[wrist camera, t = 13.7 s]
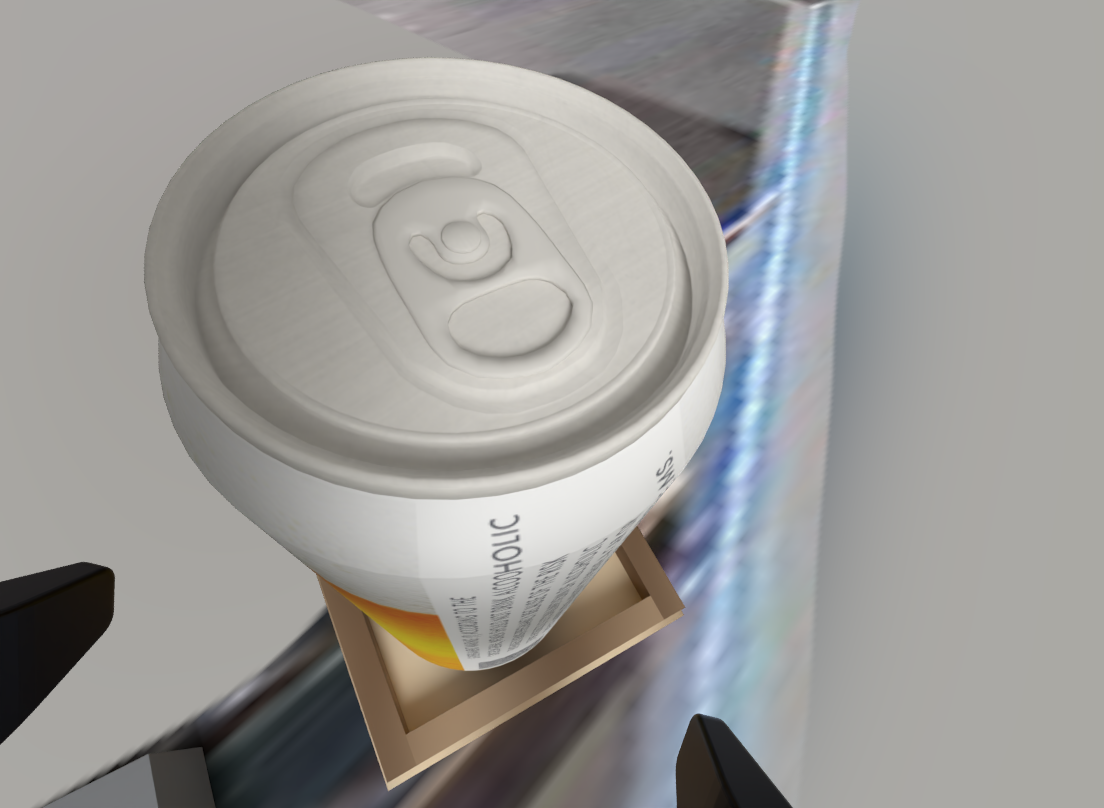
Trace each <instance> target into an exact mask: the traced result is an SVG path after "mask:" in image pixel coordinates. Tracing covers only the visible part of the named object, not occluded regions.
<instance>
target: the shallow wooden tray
mask: <svg viewBox="0 0 1104 808" xmlns="http://www.w3.org/2000/svg"><path fill="white" fill-rule="evenodd" d="M316 575H317V574H316ZM317 578H318V581H319V584H320V587H321V590H322V593H323V596H324V599H325V602H326V605H327V608H328V611H329V614H330V617H331V620H332V623H333V626H334V629H335V632H336V635H337V638H338V641H339V644H340V647H341V650H342V653H343V656H344V659H345V662H346V665H347V668H348V671H349V674H350V677H351V680H352V683H353V686H354V689H355V692H356V695H357V698H358V701H359V704H360V707H361V710H362V713H363V716H364V719H365V722H366V725H367V728H368V731H369V734H370V737H371V740H372V743H373V746H374V749H375V752H376V755H377V758H378V761H379V764H380V767H381V770H382V773H383V776H384V779H385V782H386V785H387V788H388V791H389V790H391V789H392V788H394V787H396V786H397V785H399V784H401V783H402V782H404V781H406V780H407V779H409V778H411V777H412V776H414V775H416V774H417V773H419V772H421V771H422V770H424V769H426V768H428V767H429V766H431V765H433V764H434V763H436V762H438V761H439V760H441V759H443V758H444V757H446V756H448V755H449V754H451V753H453V752H454V751H456V750H458V749H460V748H461V747H463V746H465V745H466V744H468V743H470V742H471V741H473V740H475V739H476V738H478V737H480V736H481V735H483V734H485V733H486V732H488V731H490V730H491V729H493V728H495V727H497V726H498V725H500V724H502V723H503V722H505V721H507V720H508V719H510V718H512V717H513V716H515V715H517V714H518V713H520V712H522V711H523V710H525V709H527V708H528V707H530V706H532V705H534V704H535V703H537V702H539V701H540V700H542V699H544V698H545V697H547V696H549V695H550V694H552V693H554V692H555V691H557V690H559V689H560V688H562V687H564V686H566V685H567V684H569V683H571V682H572V681H574V680H576V679H577V678H579V677H581V676H582V675H584V674H586V673H587V672H589V671H591V670H592V669H594V668H596V667H597V666H599V665H601V664H603V663H604V662H606V661H608V660H609V659H611V658H613V657H614V656H616V655H618V654H619V653H621V652H623V651H624V650H626V649H628V648H629V647H631V646H633V645H634V644H636V643H638V642H640V641H641V640H643V639H645V638H646V637H648V636H650V635H651V634H653V633H655V632H656V631H658V630H660V629H661V628H663V627H665V626H666V625H668V624H670V623H671V622H673V621H675V620H677V619H678V618H680V617H682V616H683V615H684V614H683V613H682V611H681V610H682V609H683V608H685V606H684V605H683V603H682V601H681V599H680V598H679V596H678V594H677V593H676V591H675V589H674V588H673V586H672V584H671V583H670V581H669V579H668V577H667V576H666V574H665V572H664V571H663V569H662V567H661V566H660V564H659V562H658V561H657V559H656V557H655V555H654V554H653V552H652V550H651V549H650V547H649V545H648V544H647V542H646V540H645V539H644V537H643V535H642V533H641V532H640V530H639V528H638V527H637V526H636V527H635V528H634V530H633V531H632V532H631V533H630V534H629V536H628V537H627V538H626V539H625V540H624V542H623V543H622V544H621V545H620V546H619V548H618V549H617V550H616V551H615V552H614V554H613V555H612V556H611V557H610V558H609V560H608V561H607V562H606V563H605V565H604V566H603V567H602V568H601V569H600V571H599V572H598V573H597V574H596V575H595V577H594V578H593V579H592V580H591V581H590V583H589V584H588V585H587V586H586V587H585V589H584V590H583V591H582V592H581V593H580V595H579V596H578V597H577V598H576V599H575V601H574V602H573V603H572V604H571V605H570V607H569V608H568V609H567V610H566V611H565V613H564V614H563V615H562V616H561V617H560V619H559V620H558V621H557V622H556V624H555V625H554V626H553V627H552V628H551V630H550V631H549V632H548V633H547V634H546V635H545V637H544V638H543V639H542V640H541V641H540V642H539V643H538V644H537V645H535V646H534V647H533V648H532V649H531V650H529V651H528V652H526V653H525V654H524V655H522V656H520V657H518V658H517V659H515V660H513V661H511V662H508V663H506V664H503V665H501V666H497V667H494V668H490V669H484V670H476V671H463V670H454V669H449V668H445V667H441V666H438V665H436V664H433V663H430V662H428V661H426V660H425V659H423V658H421V657H419V656H418V655H416V654H415V653H414V652H412V651H411V650H409V649H408V648H407V647H406V646H404V645H403V644H402V643H401V642H400V641H398V640H397V639H396V638H395V637H393V636H392V635H391V634H390V633H388V632H387V631H386V630H385V629H384V628H382V627H381V626H380V625H379V624H377V623H376V622H375V621H374V620H372V619H371V618H370V617H369V616H368V615H366V614H365V613H364V612H363V611H361V610H360V609H359V608H358V607H357V606H355V605H354V604H353V603H352V602H350V601H349V600H348V599H347V598H345V597H344V596H343V595H342V594H341V593H339V592H338V591H337V590H336V589H334V588H333V587H332V586H331V585H329V584H328V583H327V582H326V581H325V580H323V579H322V578H321V577H320V576H318V575H317Z"/></svg>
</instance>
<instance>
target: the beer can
mask: <svg viewBox="0 0 1104 808" xmlns="http://www.w3.org/2000/svg"><path fill="white" fill-rule="evenodd" d="M144 265H145V267H144V269H145V270H144V272H145V274H144V283H145V289H146V295H147V301H148V307H149V311H150V315H151V318H152V321H153V323H154V326H155V329H156V332H157V335H158V337H159V373H160V378H161V384H162V390H163V396H164V400H165V403H166V406H167V409H168V411H169V414H170V417H171V420H172V423H173V426H174V428H175V430H176V432H177V434H178V436H179V437H180V439H181V441H182V443H183V445H184V447H185V449H186V451H187V452H188V454H189V456H190V457H191V459H192V460H193V461H194V463H195V464H196V465H197V467H198V468H199V469H200V471H201V472H202V473H203V475H204V476H205V477H206V479H207V480H208V481H209V483H210V484H211V485H212V486H213V487H214V488H215V489H216V490H217V491H219V492H220V493H221V494H222V495H223V496H224V497H225V498H226V499H227V500H228V501H229V502H230V503H231V504H232V505H233V506H234V507H235V508H236V509H237V510H239V511H240V512H241V513H242V514H244V515H245V516H246V517H247V518H248V519H250V520H251V521H252V522H253V523H254V524H256V525H257V526H258V527H260V528H261V529H262V530H263V531H264V532H266V533H267V534H268V535H269V536H271V537H272V538H273V539H274V540H275V541H277V542H278V543H279V544H280V545H282V546H283V547H284V548H285V549H286V550H288V551H289V552H290V553H291V554H293V555H294V556H295V557H296V558H298V559H299V560H300V561H301V562H302V563H304V564H305V565H306V566H307V567H309V568H310V569H311V570H312V571H313V572H315V573H316V574H317V575H318V576H320V577H321V578H322V579H323V580H325V581H326V582H327V583H328V584H329V585H331V586H332V587H333V588H334V589H336V590H337V591H338V592H339V593H341V594H342V595H343V596H344V597H345V598H347V599H348V600H349V601H350V602H352V603H353V604H354V605H355V606H357V607H358V608H359V609H360V610H361V611H363V612H364V613H365V614H366V615H368V616H369V617H370V618H371V619H372V620H374V621H375V622H376V623H377V624H379V625H380V626H381V627H382V628H384V629H385V630H386V631H387V632H388V633H390V634H391V635H392V636H393V637H395V638H396V639H397V640H398V641H400V642H401V643H402V644H403V645H404V646H406V647H407V648H408V649H409V650H411V651H412V652H414V653H415V654H416V655H418V656H419V657H421V658H423V659H425V660H426V661H428V662H430V663H433V664H436V665H438V666H441V667H445V668H449V669H454V670H463V671H476V670H484V669H490V668H494V667H497V666H501V665H503V664H506V663H508V662H511V661H513V660H515V659H517V658H518V657H520V656H522V655H524V654H525V653H526V652H528V651H529V650H531V649H532V648H533V647H534V646H535V645H537V644H538V643H539V642H540V641H541V640H542V639H543V638H544V637H545V635H546V634H547V633H548V632H549V631H550V630H551V628H552V627H553V626H554V625H555V624H556V622H557V621H558V620H559V619H560V617H561V616H562V615H563V614H564V613H565V611H566V610H567V609H568V608H569V607H570V605H571V604H572V603H573V602H574V601H575V599H576V598H577V597H578V596H579V595H580V593H581V592H582V591H583V590H584V589H585V587H586V586H587V585H588V584H589V583H590V581H591V580H592V579H593V578H594V577H595V575H596V574H597V573H598V572H599V571H600V569H601V568H602V567H603V566H604V565H605V563H606V562H607V561H608V560H609V558H610V557H611V556H612V555H613V554H614V552H615V551H616V550H617V549H618V548H619V546H620V545H621V544H622V543H623V542H624V540H625V539H626V538H627V537H628V536H629V534H630V533H631V532H632V531H633V530H634V528H635V527H636V526H637V525H638V524H639V522H640V521H641V520H642V519H643V518H644V516H645V515H646V514H647V513H648V512H649V510H650V509H651V508H652V507H653V506H654V504H655V503H656V502H657V501H658V499H659V498H660V497H661V496H662V495H663V493H664V492H665V491H666V490H667V489H668V487H669V486H670V485H671V484H672V483H673V481H674V480H675V479H676V478H677V477H678V475H679V474H680V473H681V472H682V471H683V469H684V468H685V467H686V466H687V464H688V462H689V461H690V459H691V458H692V456H693V455H694V453H695V452H696V450H697V448H698V447H699V445H700V444H701V442H702V440H703V438H704V436H705V434H706V432H707V429H708V427H709V425H710V423H711V421H712V419H713V416H714V414H715V410H716V407H717V404H718V400H719V397H720V393H721V390H722V384H723V377H724V370H725V363H726V336H725V328H724V319H723V317H724V314H725V307H726V301H727V294H728V257H727V251H726V244H725V239H724V236H723V232H722V229H721V226H720V222H719V219H718V216H717V214H716V212H715V210H714V208H713V205H712V203H711V201H710V199H709V197H708V195H707V193H706V192H705V190H704V188H703V187H702V185H701V183H700V182H699V180H698V179H697V177H696V176H695V174H694V173H693V172H692V171H691V169H690V168H689V167H688V165H687V164H686V163H685V162H684V160H683V159H682V158H681V157H680V156H679V155H678V154H677V153H676V152H675V151H674V150H673V148H672V147H671V146H670V145H669V144H668V143H667V142H666V141H665V140H664V139H662V138H661V137H660V136H659V135H658V134H656V133H655V132H654V131H653V130H652V129H651V128H649V127H648V126H647V125H646V124H644V123H643V122H641V121H640V120H639V119H637V118H636V117H634V116H633V115H631V114H630V113H629V112H627V111H626V110H624V109H622V108H620V107H619V106H617V105H615V104H614V103H612V102H610V101H609V100H607V99H605V98H603V97H601V96H599V95H597V94H595V93H593V92H591V91H588V90H586V89H584V88H582V87H580V86H577V85H574V84H572V83H569V82H567V81H564V80H562V79H559V78H556V77H553V76H550V75H546V74H543V73H540V72H537V71H533V70H529V69H525V68H520V67H516V66H512V65H507V64H501V63H495V62H489V61H482V60H472V59H461V58H436V57H425V58H402V59H393V60H384V61H375V62H370V63H364V64H359V65H353V66H348V67H344V68H340V69H336V70H333V71H329V72H325V73H321V74H319V75H316V76H313V77H310V78H307V79H304V80H301V81H298V82H296V83H293V84H291V85H289V86H287V87H284V88H282V89H280V90H277V91H275V92H273V93H271V94H269V95H267V96H265V97H264V98H262V99H260V100H258V101H256V102H254V103H253V104H251V105H249V106H247V107H246V108H244V109H243V110H241V111H240V112H238V113H237V114H236V115H234V116H233V117H231V118H230V119H228V120H227V121H225V122H224V123H223V124H222V125H220V126H219V127H218V128H217V129H216V130H215V131H213V132H212V133H211V134H210V135H209V136H207V138H205V139H204V140H203V141H202V142H201V143H200V144H199V146H198V147H197V148H196V149H195V150H194V151H193V152H192V153H191V154H190V155H189V156H188V157H187V158H186V160H185V161H184V163H183V164H182V165H181V167H180V168H179V169H178V171H177V172H176V173H175V175H174V176H173V178H172V179H171V180H170V182H169V184H168V186H167V188H166V190H165V192H164V193H163V195H162V197H161V199H160V201H159V203H158V205H157V208H156V211H155V214H154V217H153V220H152V222H151V225H150V228H149V233H148V239H147V244H146V250H145V264H144Z"/></svg>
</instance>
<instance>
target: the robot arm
mask: <svg viewBox="0 0 1104 808" xmlns="http://www.w3.org/2000/svg"><path fill="white" fill-rule="evenodd" d="M114 588H115V576H114V573H113V571H112V570H111V569H110V568H108V567H104V566H101V565H97V564H92V563H88V562H80V563H76V564H72V565H68V566H63V567H60V568H56V569H51V570H47V571H43V572H39V573H35V574H31V575H27V576H23V577H19V578H14V579H10V580H6V581H2V582H0V744H1V743H3V742H4V741H5V740H6V739H7V737H9V736H10V735H11V734H12V733H13V732H14V731H15V730H16V729H17V728H18V727H19V726H20V725H21V724H22V723H23V721H24V720H25V719H26V718H27V717H28V716H29V715H30V714H31V713H32V712H33V711H34V710H35V709H36V708H37V707H38V706H39V704H40V703H41V702H42V701H43V700H44V699H45V698H46V697H47V696H48V694H49V693H50V692H51V691H52V690H53V689H54V688H55V687H56V685H57V684H58V683H59V682H60V681H61V680H62V679H63V678H64V677H65V676H66V674H67V673H68V672H69V671H70V670H71V669H72V668H73V667H74V666H75V665H76V663H77V662H78V661H79V660H80V659H81V658H82V657H83V656H84V654H85V653H86V652H87V651H88V650H89V649H90V648H91V647H92V645H94V643H95V642H96V641H97V640H98V639H99V638H100V637H101V636H102V635H103V633H104V632H105V631H106V630H107V628H108V627H109V625H110V623H111V621H112V618H113V613H114ZM676 794H677V808H793V807H792V806H791V805H790V804H789V802H788V801H787V800H786V799H785V797H784V796H783V795H782V794H781V792H780V791H779V790H778V789H777V787H776V786H775V785H774V784H773V782H772V781H771V780H770V779H769V777H768V776H767V775H766V774H765V772H764V771H763V770H762V769H761V767H760V766H759V765H758V764H757V762H756V761H755V760H754V758H753V757H752V756H751V755H750V753H749V752H748V751H747V750H746V748H745V747H744V746H743V745H742V743H741V742H740V741H739V740H738V738H737V737H736V736H735V735H734V733H733V732H732V731H731V730H730V728H729V727H728V726H727V725H726V724H725V723H724V721H722V720H721V719H719V718H715V717H711V716H707V715H703V714H696V715H694V716H693V717H692V719H691V721H690V723H689V726H688V729H687V732H686V734H685V737H684V740H683V743H682V745H681V748H680V751H679V754H678V757H677V763H676Z"/></svg>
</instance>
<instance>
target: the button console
mask: <svg viewBox="0 0 1104 808" xmlns="http://www.w3.org/2000/svg"><path fill="white" fill-rule="evenodd" d="M42 808H215V803H214V799H213V794H212V790H211V785H210V781H209V776H208V771H207V767H206V762H205V758H204V753H203V749H202V747H198V748H190V749H182V750H175V751H167V752H159V753H151V754H147V755H145V756H143V757H141V758H139V759H137V760H135V761H133V762H131V763H129V764H127V765H125V766H123V767H121V768H119V769H117V770H115V771H113V772H112V773H110V774H108V775H106V776H104V777H102V778H100V779H98V780H96V781H94V782H92V783H90V784H88V785H86V786H84V787H82V788H80V789H78V790H76V791H74V792H72V793H70V794H68V795H66V796H64V797H62V798H60V799H58V800H56V801H54V802H52V803H50V804H48V805H46V806H44V807H42Z"/></svg>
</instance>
